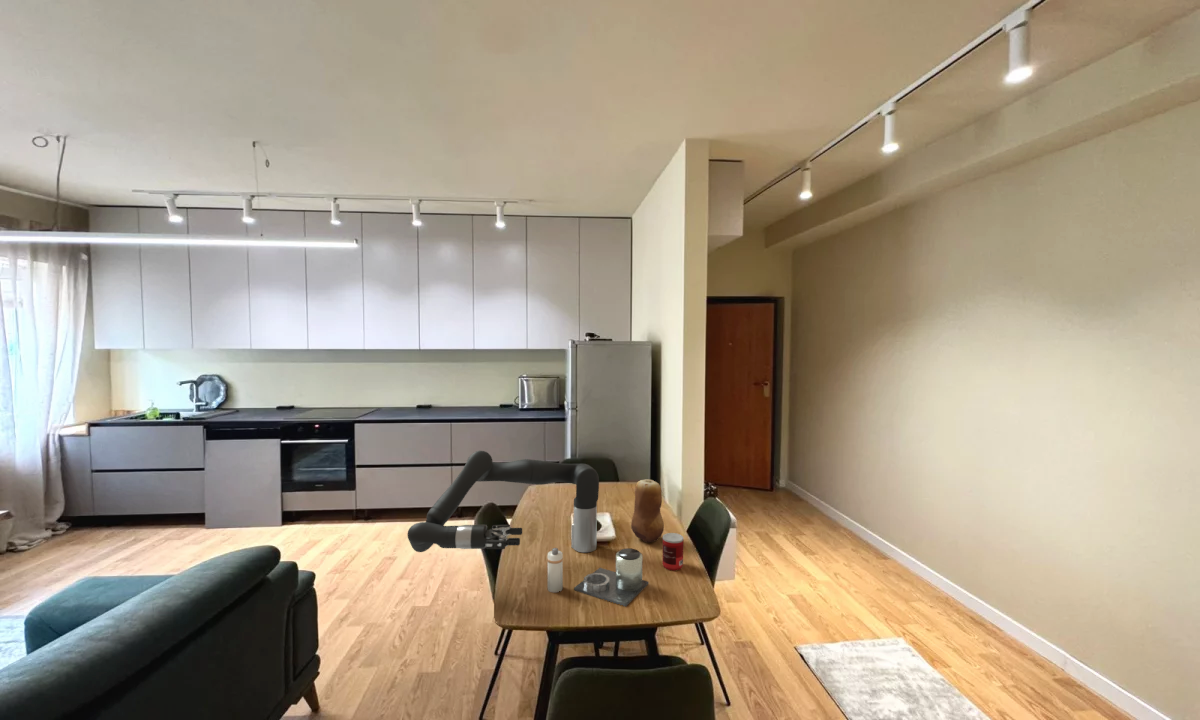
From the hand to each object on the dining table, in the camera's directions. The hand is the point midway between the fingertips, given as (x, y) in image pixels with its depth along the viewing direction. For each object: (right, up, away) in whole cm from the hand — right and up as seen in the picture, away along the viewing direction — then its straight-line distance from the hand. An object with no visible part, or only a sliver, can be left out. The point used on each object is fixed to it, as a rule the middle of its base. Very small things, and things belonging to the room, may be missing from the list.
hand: (521, 536), depth 164 cm
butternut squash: (+46, -17, +42) cm, 64 cm away
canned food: (+53, -18, +19) cm, 59 cm away
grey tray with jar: (+30, -18, +3) cm, 35 cm away
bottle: (+11, -18, +2) cm, 21 cm away
